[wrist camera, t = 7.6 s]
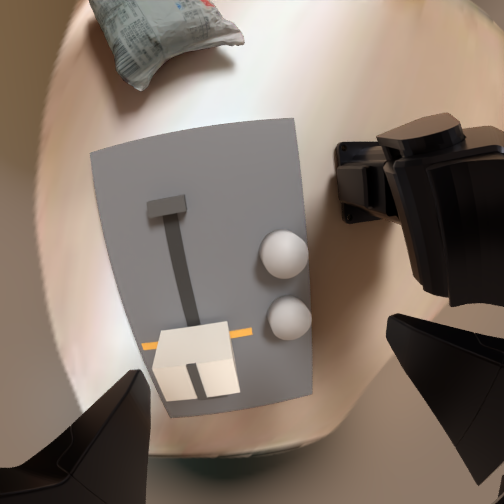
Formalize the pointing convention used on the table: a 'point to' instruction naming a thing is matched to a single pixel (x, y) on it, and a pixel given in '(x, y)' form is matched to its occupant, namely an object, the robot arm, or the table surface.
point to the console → (214, 250)
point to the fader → (196, 362)
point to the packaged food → (159, 33)
